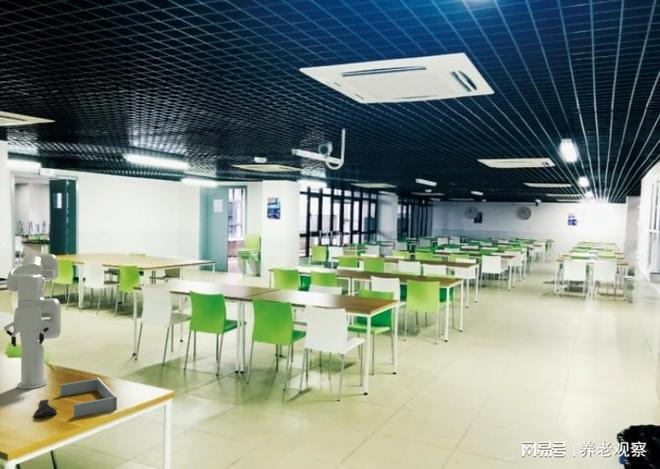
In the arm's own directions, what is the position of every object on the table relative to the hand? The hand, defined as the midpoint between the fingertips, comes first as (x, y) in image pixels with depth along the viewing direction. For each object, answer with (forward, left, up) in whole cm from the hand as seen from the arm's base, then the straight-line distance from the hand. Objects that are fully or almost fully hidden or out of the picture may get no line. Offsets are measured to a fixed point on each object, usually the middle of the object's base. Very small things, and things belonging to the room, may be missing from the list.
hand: (27, 344), depth 213 cm
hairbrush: (+6, +6, -28) cm, 29 cm away
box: (+6, +22, -27) cm, 36 cm away
